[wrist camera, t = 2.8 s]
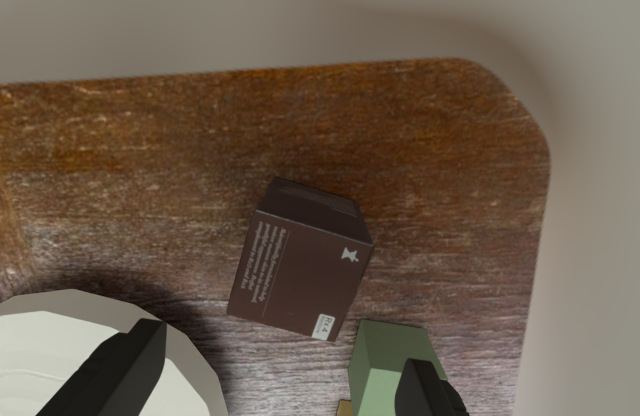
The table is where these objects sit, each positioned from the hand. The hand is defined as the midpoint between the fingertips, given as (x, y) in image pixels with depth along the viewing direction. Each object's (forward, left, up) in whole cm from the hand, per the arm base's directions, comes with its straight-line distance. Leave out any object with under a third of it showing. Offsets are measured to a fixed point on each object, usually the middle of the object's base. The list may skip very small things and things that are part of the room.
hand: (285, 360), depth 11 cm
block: (-8, +9, -13) cm, 18 cm away
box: (0, 0, -13) cm, 13 cm away
